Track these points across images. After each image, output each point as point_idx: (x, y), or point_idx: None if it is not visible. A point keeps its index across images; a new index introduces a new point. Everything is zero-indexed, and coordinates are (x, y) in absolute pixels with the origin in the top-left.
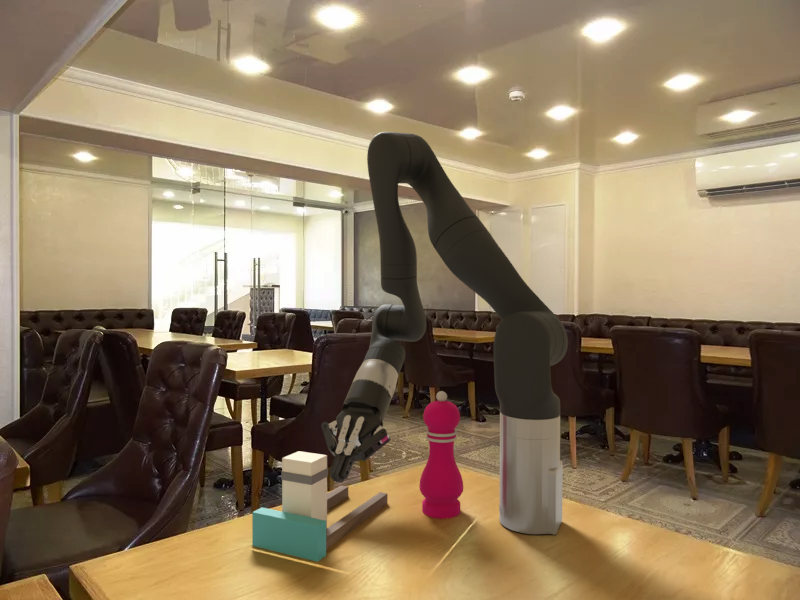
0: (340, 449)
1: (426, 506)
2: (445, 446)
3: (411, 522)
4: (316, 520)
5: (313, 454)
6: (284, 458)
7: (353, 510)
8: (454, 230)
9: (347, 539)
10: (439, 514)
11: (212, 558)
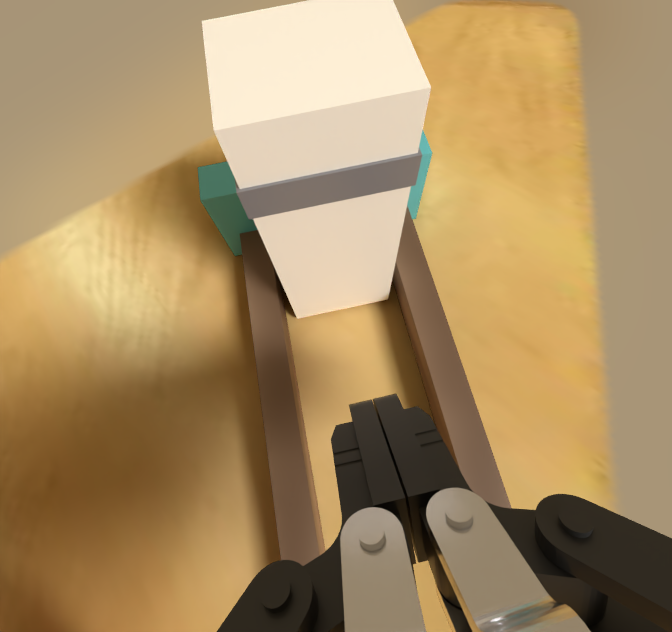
0: (454, 528)
1: None
2: None
3: (141, 595)
4: (224, 185)
5: (298, 97)
6: None
7: (301, 450)
8: None
9: (251, 353)
10: None
11: (426, 127)
